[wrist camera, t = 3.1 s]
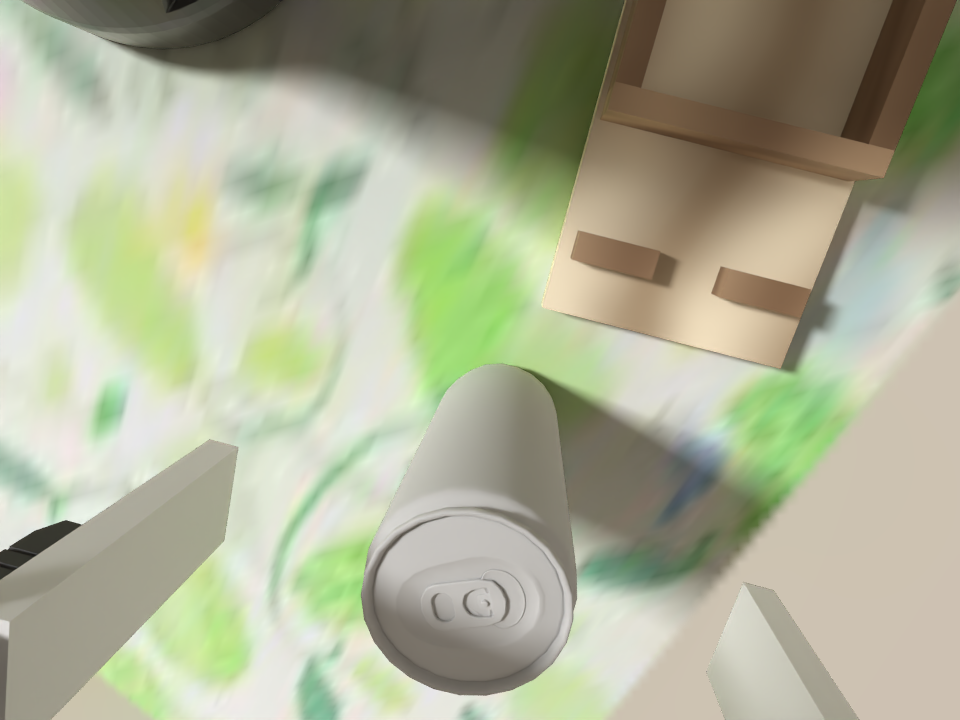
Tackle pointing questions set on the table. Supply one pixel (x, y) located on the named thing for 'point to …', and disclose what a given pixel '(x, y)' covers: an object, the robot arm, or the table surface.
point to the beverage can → (477, 542)
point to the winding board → (733, 161)
